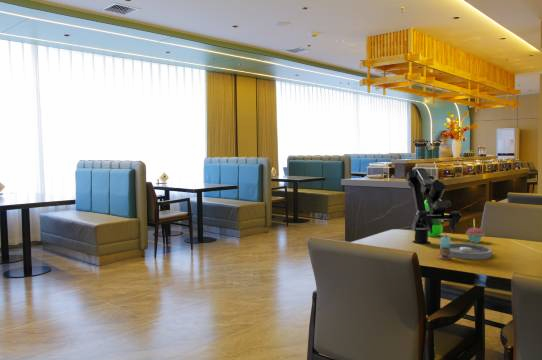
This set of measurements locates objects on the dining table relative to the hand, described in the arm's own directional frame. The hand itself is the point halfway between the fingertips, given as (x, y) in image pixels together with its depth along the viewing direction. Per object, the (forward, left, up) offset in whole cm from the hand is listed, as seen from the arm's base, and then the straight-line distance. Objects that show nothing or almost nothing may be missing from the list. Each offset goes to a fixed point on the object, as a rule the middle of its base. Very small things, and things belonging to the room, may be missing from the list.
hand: (442, 233), depth 198 cm
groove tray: (-14, +2, -10) cm, 17 cm away
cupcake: (-41, -10, -11) cm, 44 cm away
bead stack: (+2, +3, -10) cm, 11 cm away
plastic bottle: (-37, -32, -11) cm, 50 cm away
